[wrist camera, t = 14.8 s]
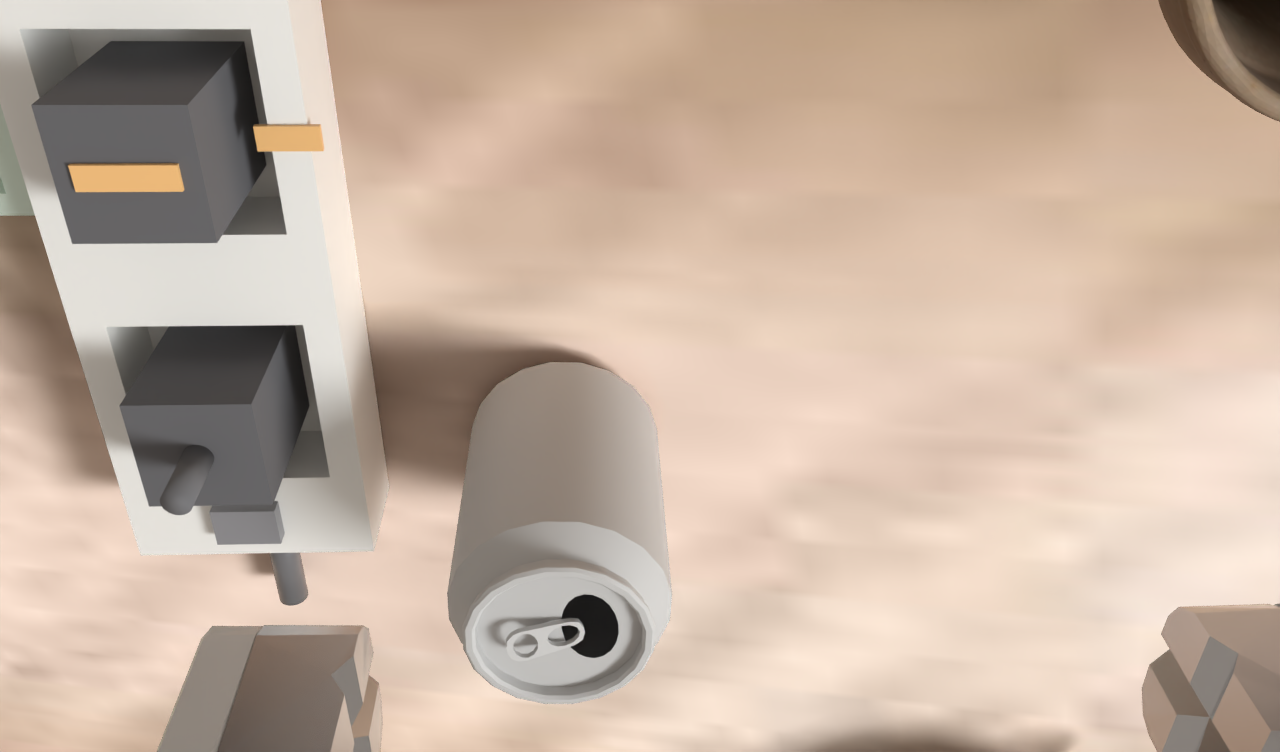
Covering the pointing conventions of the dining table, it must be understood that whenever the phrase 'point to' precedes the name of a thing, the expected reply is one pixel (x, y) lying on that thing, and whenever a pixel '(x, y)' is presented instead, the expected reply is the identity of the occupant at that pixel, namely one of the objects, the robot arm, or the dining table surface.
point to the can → (561, 536)
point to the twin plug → (216, 415)
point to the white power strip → (222, 271)
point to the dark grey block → (152, 141)
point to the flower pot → (1232, 46)
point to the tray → (11, 178)
